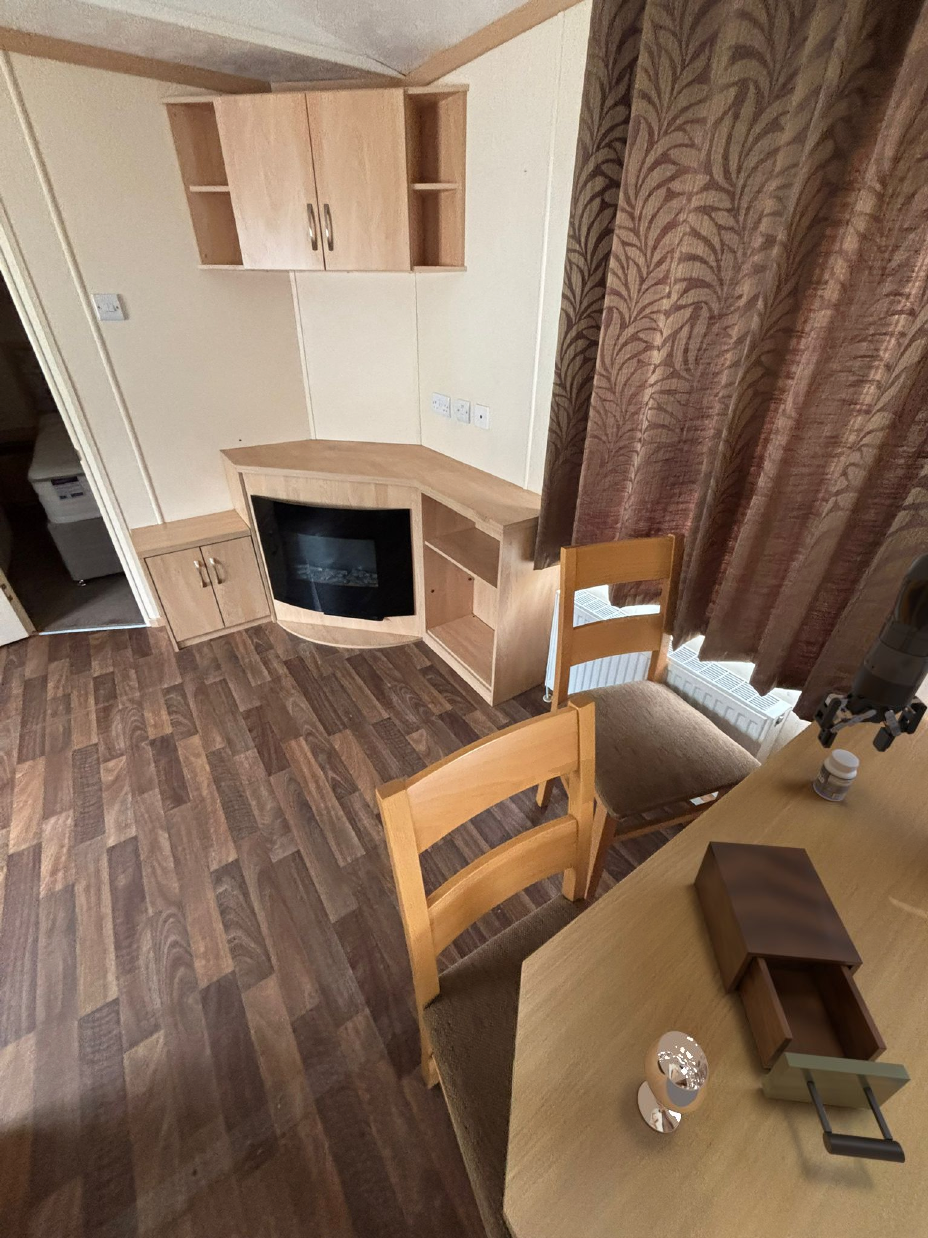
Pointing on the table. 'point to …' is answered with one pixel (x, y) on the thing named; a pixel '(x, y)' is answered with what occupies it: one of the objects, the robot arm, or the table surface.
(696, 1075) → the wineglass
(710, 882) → the cabinet
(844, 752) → the pill bottle
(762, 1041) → the drawer
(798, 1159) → the table surface
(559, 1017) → the table surface
